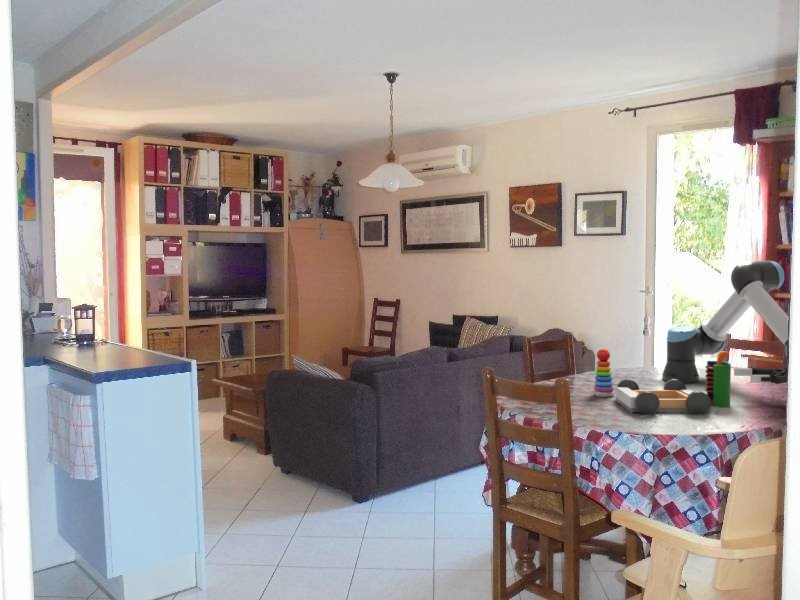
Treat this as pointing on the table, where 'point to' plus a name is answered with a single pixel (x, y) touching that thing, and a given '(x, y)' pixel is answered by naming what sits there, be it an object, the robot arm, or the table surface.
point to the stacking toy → (603, 375)
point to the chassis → (662, 398)
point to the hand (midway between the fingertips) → (742, 375)
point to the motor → (718, 381)
